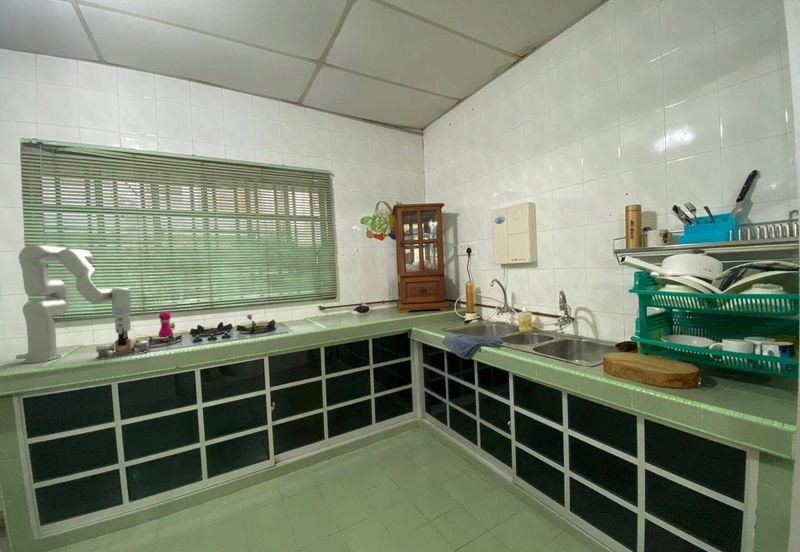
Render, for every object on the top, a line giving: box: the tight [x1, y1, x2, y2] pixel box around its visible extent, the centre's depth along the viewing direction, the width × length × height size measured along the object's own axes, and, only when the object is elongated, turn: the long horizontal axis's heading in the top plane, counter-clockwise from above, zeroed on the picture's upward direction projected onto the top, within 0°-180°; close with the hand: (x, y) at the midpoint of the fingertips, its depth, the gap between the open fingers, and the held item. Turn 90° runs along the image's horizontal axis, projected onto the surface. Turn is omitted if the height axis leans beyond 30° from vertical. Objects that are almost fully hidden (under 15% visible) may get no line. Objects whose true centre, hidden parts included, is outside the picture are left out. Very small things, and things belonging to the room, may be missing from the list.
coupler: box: [114, 337, 133, 352], centre depth 164 cm, size 6×5×6 cm
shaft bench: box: [95, 340, 150, 360], centre depth 164 cm, size 21×10×6 cm, turn 124°
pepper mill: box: [158, 309, 174, 338], centre depth 195 cm, size 7×7×20 cm
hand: (123, 344), depth 164 cm, fingers closed on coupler, 4 cm apart
